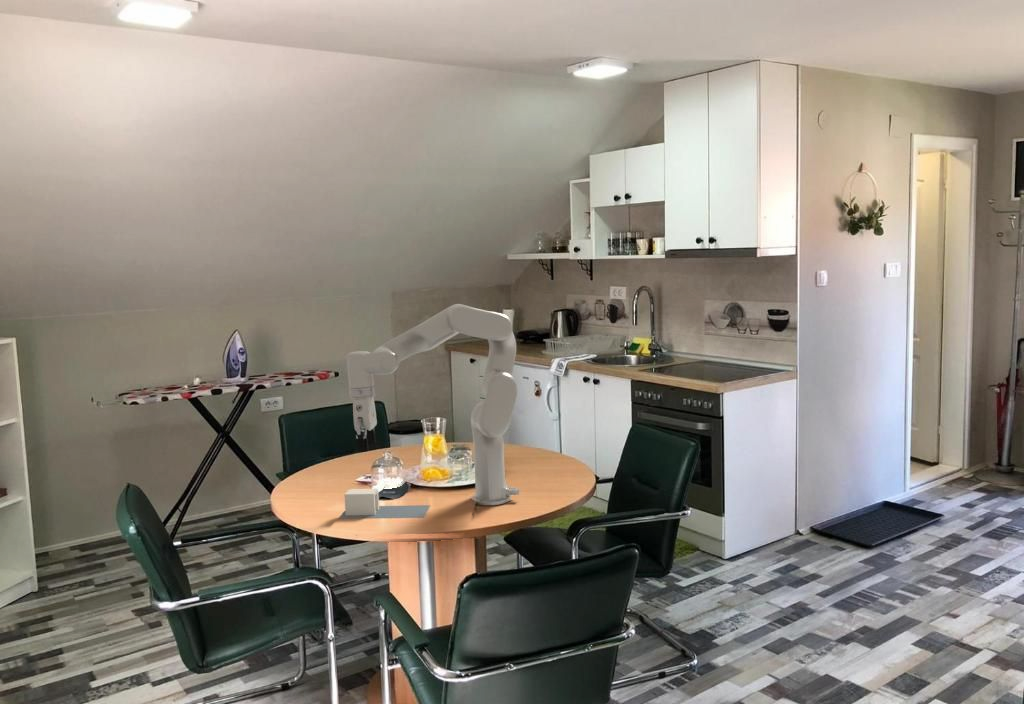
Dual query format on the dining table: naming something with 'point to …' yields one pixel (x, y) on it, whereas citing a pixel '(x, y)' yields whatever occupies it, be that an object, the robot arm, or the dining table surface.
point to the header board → (393, 512)
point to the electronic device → (395, 492)
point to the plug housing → (361, 501)
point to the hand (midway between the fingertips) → (366, 447)
